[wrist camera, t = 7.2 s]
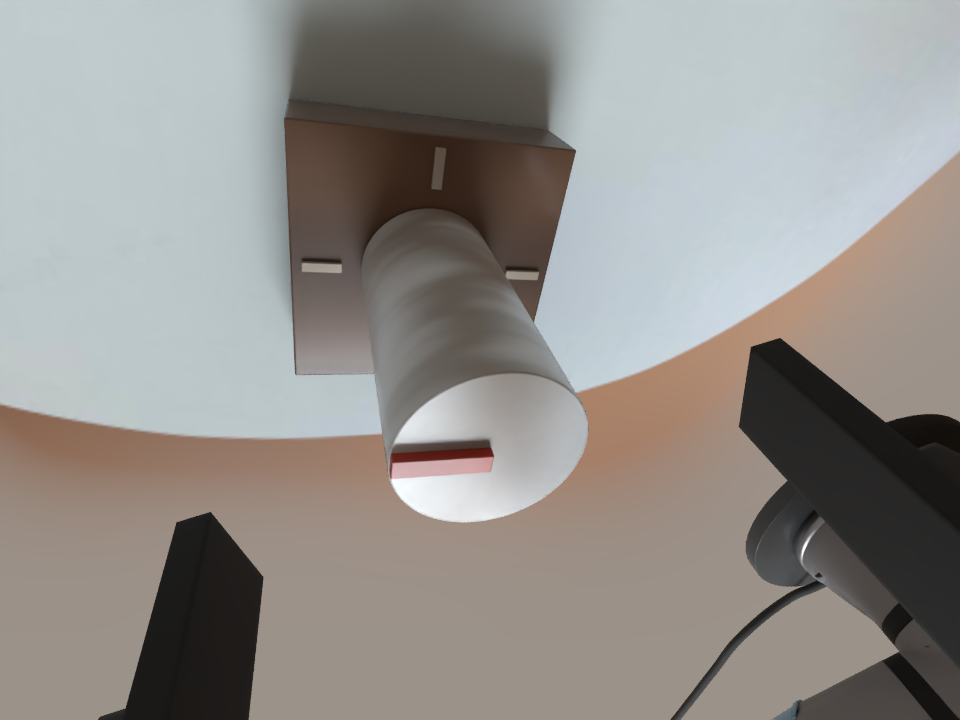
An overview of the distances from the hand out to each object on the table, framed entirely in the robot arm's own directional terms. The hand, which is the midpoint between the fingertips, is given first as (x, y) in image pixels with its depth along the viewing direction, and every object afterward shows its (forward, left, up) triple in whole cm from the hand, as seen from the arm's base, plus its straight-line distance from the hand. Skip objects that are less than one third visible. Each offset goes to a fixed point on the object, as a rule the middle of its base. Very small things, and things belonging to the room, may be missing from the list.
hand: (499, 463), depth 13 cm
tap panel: (0, 0, -13) cm, 13 cm away
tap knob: (0, 0, -10) cm, 10 cm away
